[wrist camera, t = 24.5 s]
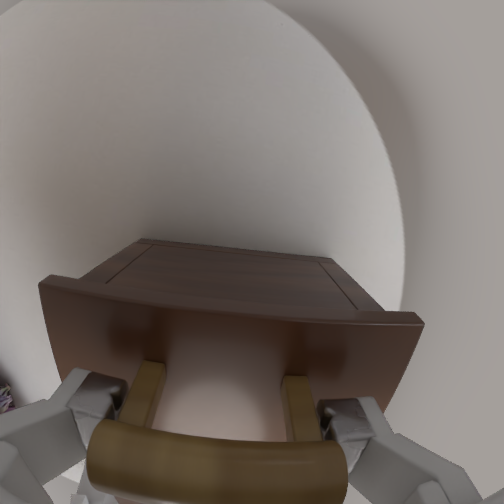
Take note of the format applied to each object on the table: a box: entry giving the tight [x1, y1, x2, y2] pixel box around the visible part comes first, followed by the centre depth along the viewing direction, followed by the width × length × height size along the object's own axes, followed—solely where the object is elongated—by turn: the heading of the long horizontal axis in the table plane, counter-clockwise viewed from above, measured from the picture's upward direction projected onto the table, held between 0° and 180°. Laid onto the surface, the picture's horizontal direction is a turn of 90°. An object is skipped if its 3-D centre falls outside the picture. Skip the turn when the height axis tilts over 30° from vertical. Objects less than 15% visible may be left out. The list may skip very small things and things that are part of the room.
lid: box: [38, 275, 425, 504], centre depth 8 cm, size 15×11×5 cm
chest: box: [80, 239, 385, 311], centre depth 15 cm, size 14×11×8 cm
